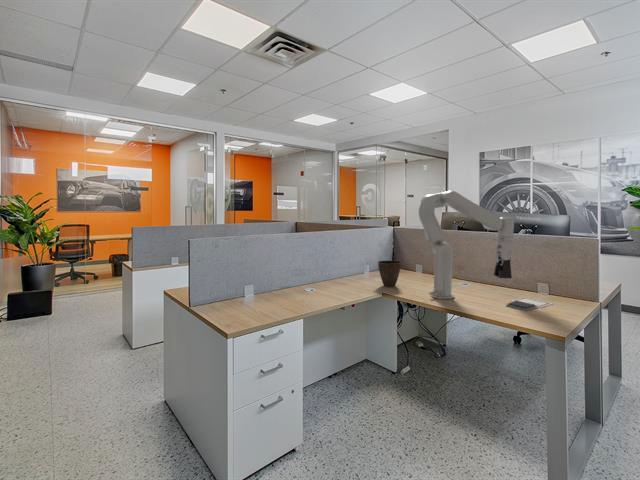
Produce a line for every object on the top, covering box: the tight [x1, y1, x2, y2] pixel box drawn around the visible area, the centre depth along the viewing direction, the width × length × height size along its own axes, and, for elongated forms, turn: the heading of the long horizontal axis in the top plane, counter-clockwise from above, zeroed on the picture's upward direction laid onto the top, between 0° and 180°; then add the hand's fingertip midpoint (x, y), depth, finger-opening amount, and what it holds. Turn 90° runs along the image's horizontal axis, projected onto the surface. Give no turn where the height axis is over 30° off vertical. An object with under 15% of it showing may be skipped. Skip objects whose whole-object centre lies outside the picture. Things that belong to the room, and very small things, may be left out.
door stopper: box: [493, 257, 513, 279], centre depth 185 cm, size 9×6×12 cm, turn 173°
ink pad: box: [506, 301, 538, 312], centre depth 170 cm, size 10×10×2 cm
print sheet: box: [510, 297, 553, 309], centre depth 178 cm, size 13×15×1 cm
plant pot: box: [377, 260, 402, 288], centre depth 220 cm, size 15×15×16 cm
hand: (502, 271), depth 185 cm, fingers closed on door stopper, 5 cm apart
